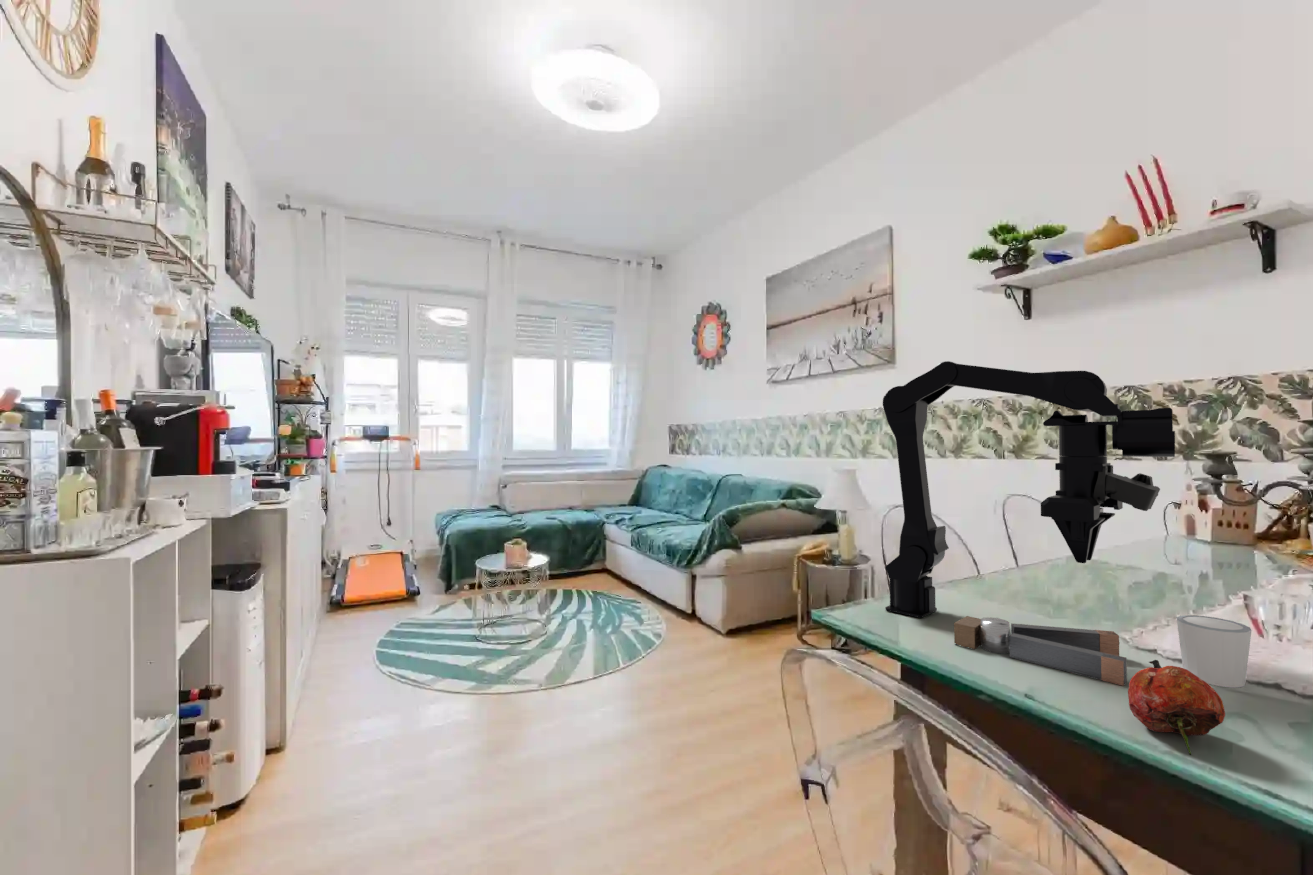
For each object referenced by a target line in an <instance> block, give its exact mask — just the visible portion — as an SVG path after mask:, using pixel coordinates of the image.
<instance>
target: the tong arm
mask: <svg viewBox="0 0 1313 875" xmlns="http://www.w3.org/2000/svg"><path fill="white" fill-rule="evenodd" d="M1010 624H1011V625H1010V631H1011V633H1010V635H1011V634H1013V633H1015V634H1020V635H1024V636H1029V637H1034V638H1038V639H1043V640H1047V641H1052V642H1056V643H1061V644H1066V645H1070V646H1075V647H1079V648H1084V649H1088V650H1093V651H1097V652H1102V653H1108V654H1112V655H1117V656H1120V634H1118V633H1116V632H1115V631H1113V630H1099V629H1085V628H1074V627H1059V626H1047V625H1036V624H1034V625H1033V624H1024V623H1023V624H1022V623H1010Z"/></svg>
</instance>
